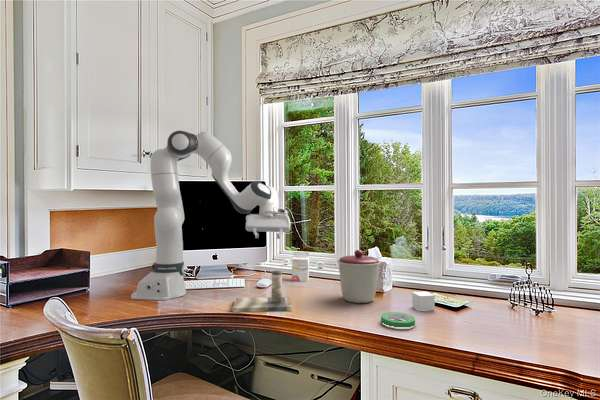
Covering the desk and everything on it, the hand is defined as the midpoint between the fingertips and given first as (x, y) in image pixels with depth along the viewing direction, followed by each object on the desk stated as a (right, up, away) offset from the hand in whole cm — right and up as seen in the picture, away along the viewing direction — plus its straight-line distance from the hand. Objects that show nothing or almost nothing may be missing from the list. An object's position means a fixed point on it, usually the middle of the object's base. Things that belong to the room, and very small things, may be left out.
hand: (267, 237), depth 159 cm
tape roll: (+47, -26, -36) cm, 65 cm away
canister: (+39, -26, -7) cm, 47 cm away
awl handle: (+5, -24, -16) cm, 29 cm away
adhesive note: (+62, -26, -19) cm, 70 cm away
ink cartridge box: (+14, -26, +30) cm, 42 cm away
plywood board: (-1, -25, -16) cm, 30 cm away
